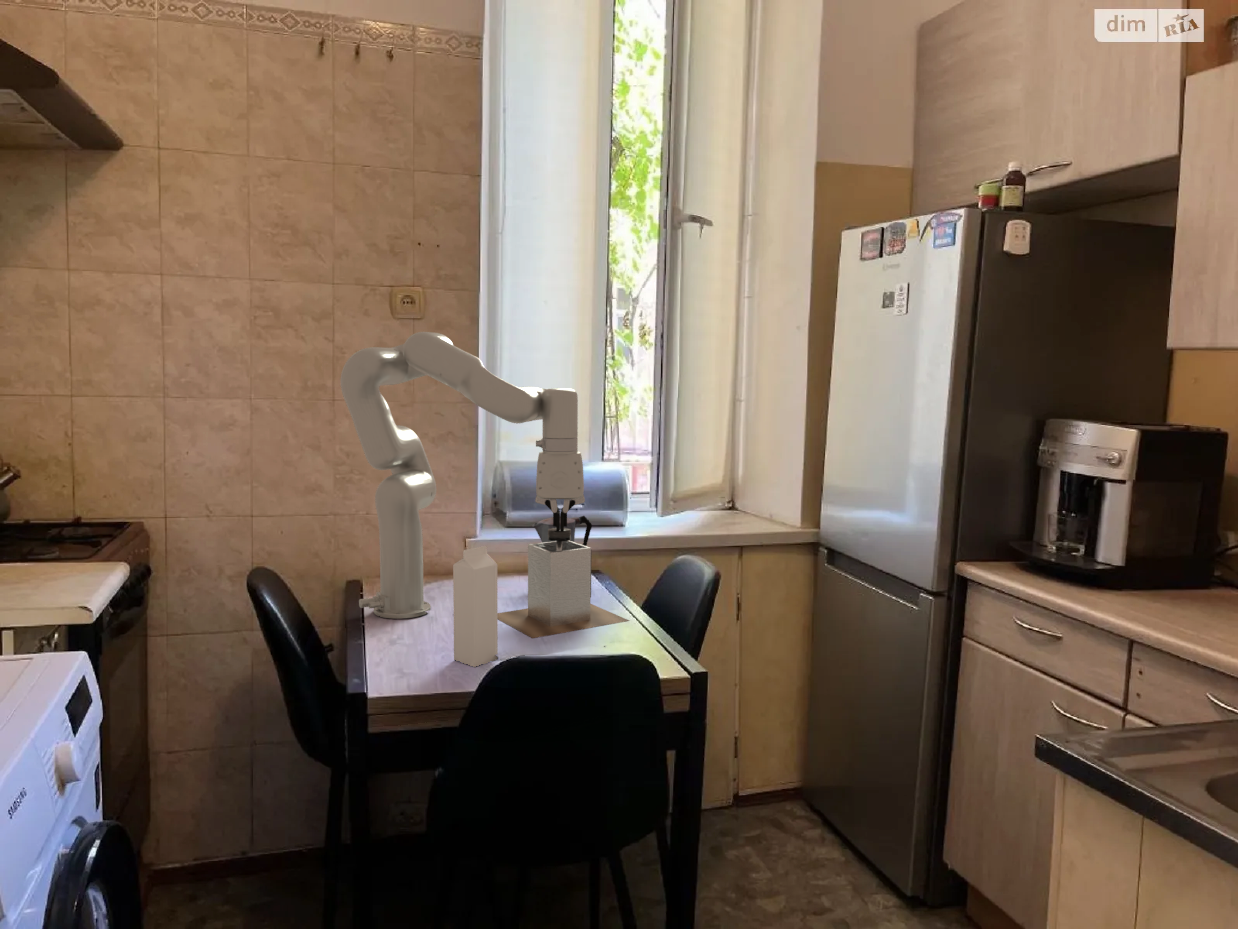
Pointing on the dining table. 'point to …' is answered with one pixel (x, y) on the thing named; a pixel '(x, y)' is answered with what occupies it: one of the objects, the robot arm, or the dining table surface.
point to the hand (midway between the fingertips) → (560, 529)
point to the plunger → (559, 536)
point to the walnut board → (539, 629)
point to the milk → (475, 608)
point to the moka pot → (571, 523)
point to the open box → (559, 582)
